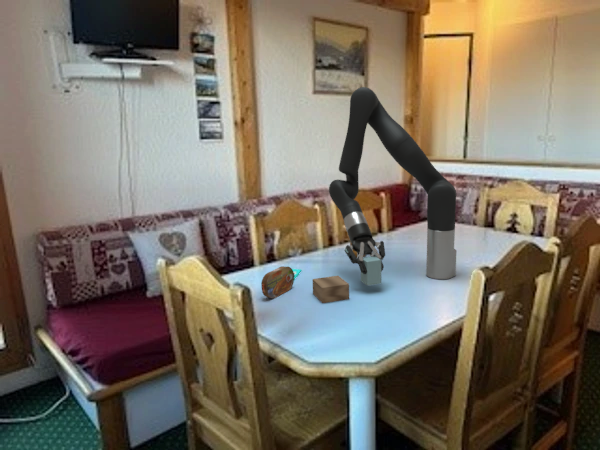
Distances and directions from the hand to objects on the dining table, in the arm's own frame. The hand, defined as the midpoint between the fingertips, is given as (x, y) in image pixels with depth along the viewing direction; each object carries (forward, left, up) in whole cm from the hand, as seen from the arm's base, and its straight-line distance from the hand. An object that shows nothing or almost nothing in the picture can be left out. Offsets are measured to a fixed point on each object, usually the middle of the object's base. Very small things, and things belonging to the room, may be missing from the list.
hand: (373, 271), depth 153 cm
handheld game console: (+23, -26, -8) cm, 36 cm away
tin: (+29, -11, -7) cm, 32 cm away
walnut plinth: (+14, -2, -7) cm, 16 cm away
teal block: (0, -2, -4) cm, 5 cm away
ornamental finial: (-13, -41, -7) cm, 43 cm away
